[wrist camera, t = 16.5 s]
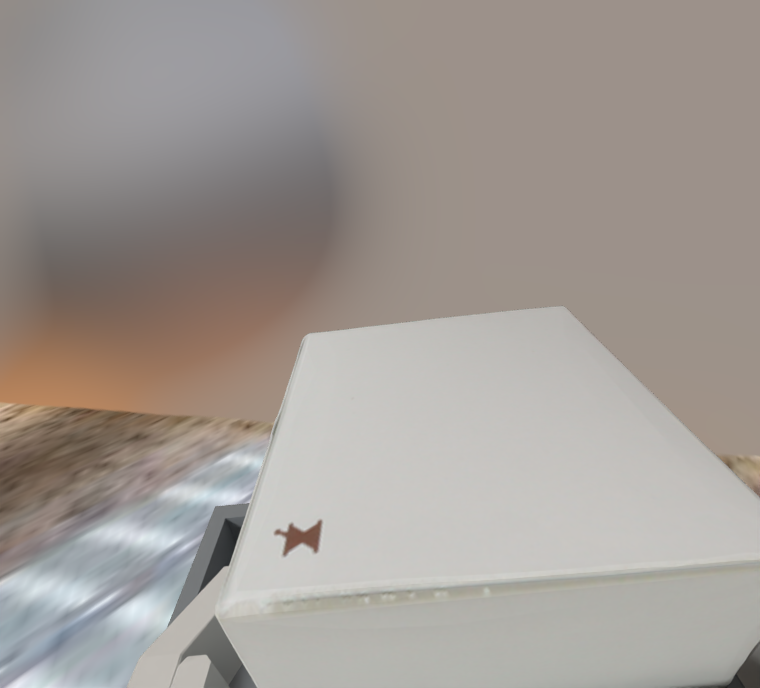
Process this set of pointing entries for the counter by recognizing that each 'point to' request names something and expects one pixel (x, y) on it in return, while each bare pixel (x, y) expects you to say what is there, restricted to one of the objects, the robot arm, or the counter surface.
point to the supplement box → (488, 520)
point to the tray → (219, 554)
